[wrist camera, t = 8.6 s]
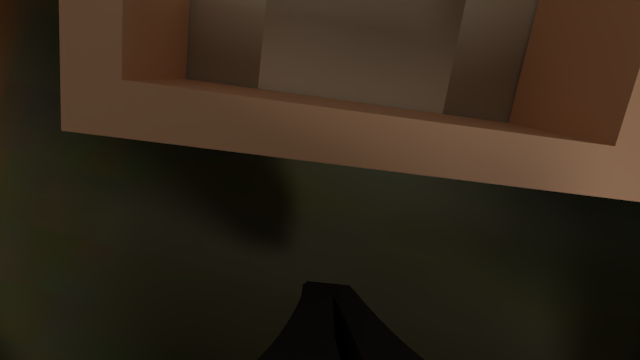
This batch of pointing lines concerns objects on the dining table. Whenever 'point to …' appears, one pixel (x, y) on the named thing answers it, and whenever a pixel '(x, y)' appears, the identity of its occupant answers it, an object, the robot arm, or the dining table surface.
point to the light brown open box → (368, 119)
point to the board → (368, 50)
